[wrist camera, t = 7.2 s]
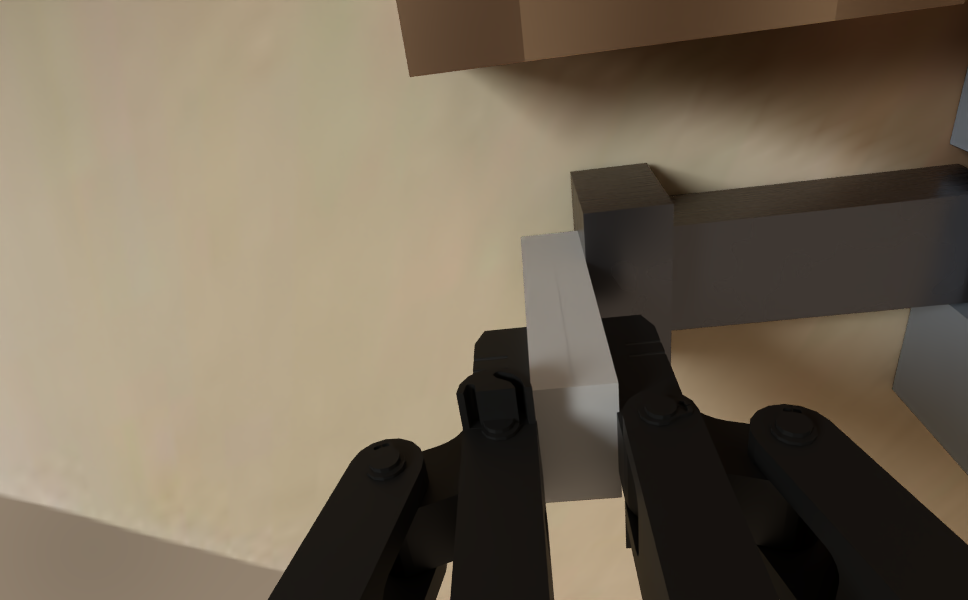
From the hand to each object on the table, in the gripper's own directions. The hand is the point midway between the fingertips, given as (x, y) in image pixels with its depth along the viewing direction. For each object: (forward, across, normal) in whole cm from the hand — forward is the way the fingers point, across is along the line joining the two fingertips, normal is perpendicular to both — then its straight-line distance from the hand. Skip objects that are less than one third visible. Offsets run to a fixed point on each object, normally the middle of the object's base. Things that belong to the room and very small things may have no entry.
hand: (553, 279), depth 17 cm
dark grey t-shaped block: (+1, +6, 0) cm, 6 cm away
